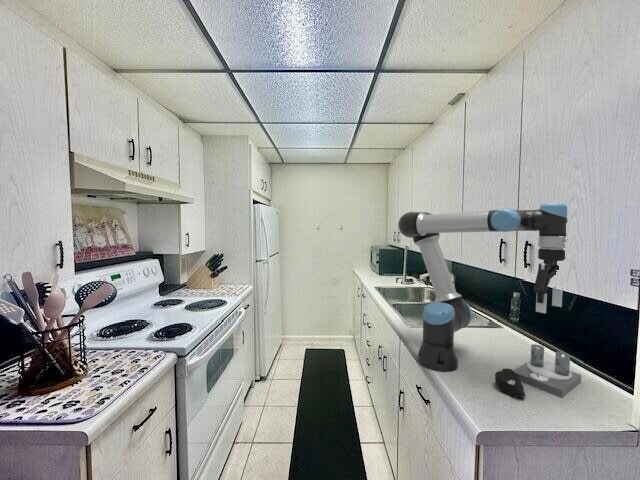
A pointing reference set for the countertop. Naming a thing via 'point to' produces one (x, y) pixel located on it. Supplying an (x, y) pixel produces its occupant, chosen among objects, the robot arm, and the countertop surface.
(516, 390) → the rock
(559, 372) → the cylinder
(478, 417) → the countertop surface
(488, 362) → the countertop surface
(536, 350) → the cylinder
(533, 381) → the scale
